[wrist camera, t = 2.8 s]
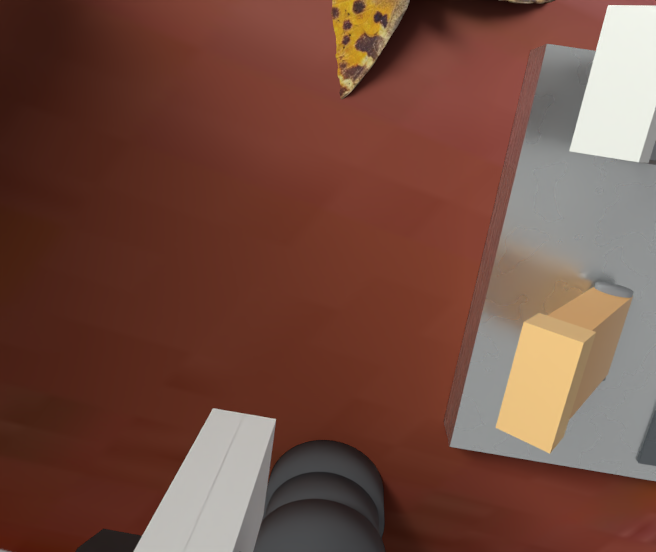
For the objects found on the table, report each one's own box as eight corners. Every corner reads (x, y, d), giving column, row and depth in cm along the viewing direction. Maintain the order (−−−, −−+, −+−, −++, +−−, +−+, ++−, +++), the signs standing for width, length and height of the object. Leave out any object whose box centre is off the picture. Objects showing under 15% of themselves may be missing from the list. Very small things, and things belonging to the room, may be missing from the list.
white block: (631, 160, 25) (568, 154, 17) (662, 56, 23) (609, 1, 16) (681, 168, 24) (637, 165, 16) (717, 59, 22) (687, 2, 15)
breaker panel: (443, 421, 32) (450, 448, 29) (530, 50, 26) (548, 43, 23) (653, 456, 31) (679, 487, 29) (789, 88, 25) (836, 85, 23)
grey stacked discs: (263, 527, 35) (234, 636, 27) (276, 431, 33) (248, 522, 25) (373, 546, 35) (373, 661, 27) (392, 450, 32) (399, 548, 25)
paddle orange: (570, 361, 28) (494, 430, 20) (595, 278, 26) (524, 319, 19) (613, 377, 26) (549, 456, 19) (641, 291, 25) (584, 340, 18)
